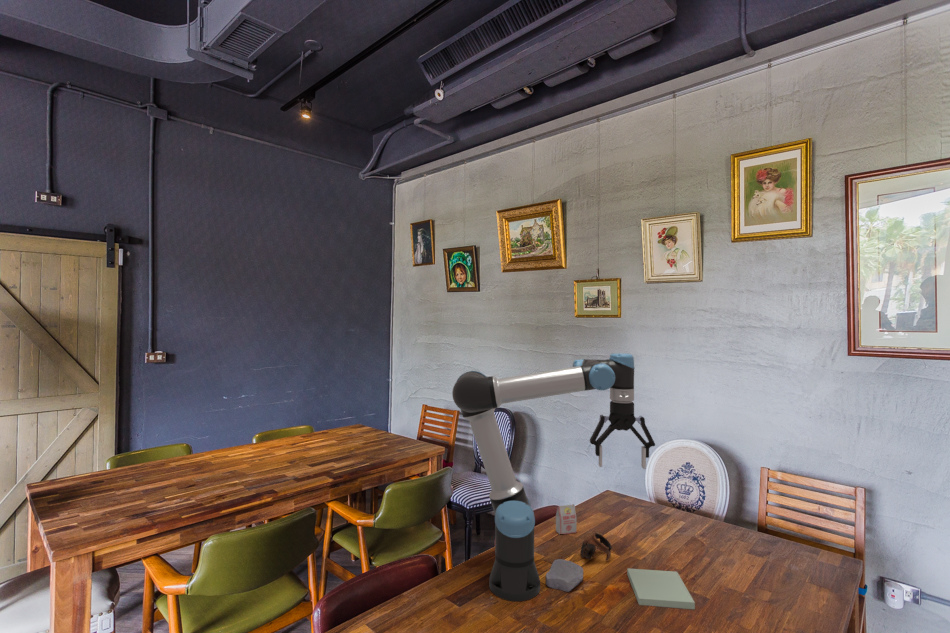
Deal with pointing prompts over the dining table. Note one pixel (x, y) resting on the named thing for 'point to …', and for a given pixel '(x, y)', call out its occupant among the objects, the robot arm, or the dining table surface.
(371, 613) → the dining table surface
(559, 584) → the stone block
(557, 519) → the white food box
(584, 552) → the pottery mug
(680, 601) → the base
